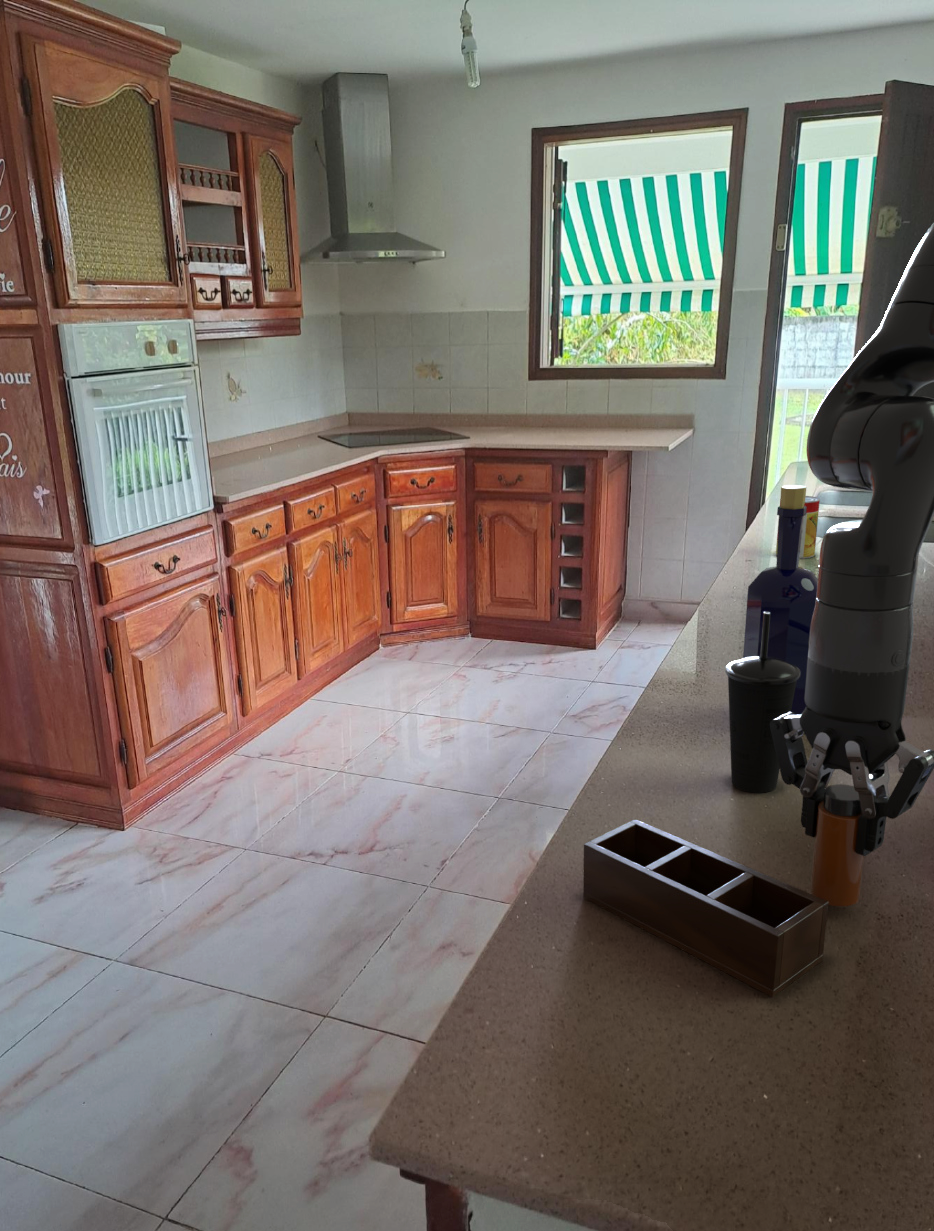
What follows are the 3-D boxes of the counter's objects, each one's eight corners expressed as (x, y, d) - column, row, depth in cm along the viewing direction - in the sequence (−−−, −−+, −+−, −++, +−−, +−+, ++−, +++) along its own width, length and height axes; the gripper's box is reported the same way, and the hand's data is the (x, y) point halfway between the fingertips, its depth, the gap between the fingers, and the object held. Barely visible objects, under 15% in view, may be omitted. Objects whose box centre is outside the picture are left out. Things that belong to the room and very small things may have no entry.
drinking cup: (761, 764, 116) (774, 599, 109) (804, 791, 110) (821, 616, 103) (704, 776, 114) (714, 608, 107) (745, 803, 108) (758, 626, 101)
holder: (633, 870, 96) (634, 818, 94) (822, 960, 81) (829, 901, 79) (582, 897, 92) (583, 844, 90) (772, 997, 77) (778, 936, 75)
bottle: (806, 708, 132) (827, 480, 122) (818, 734, 124) (842, 492, 113) (734, 706, 134) (749, 481, 124) (741, 732, 126) (757, 494, 115)
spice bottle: (825, 877, 90) (835, 777, 87) (868, 894, 87) (880, 792, 84) (801, 894, 88) (810, 792, 84) (844, 912, 85) (855, 807, 81)
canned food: (815, 551, 216) (820, 496, 212) (813, 559, 209) (818, 502, 205) (777, 550, 219) (781, 495, 215) (773, 557, 212) (778, 501, 208)
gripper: (972, 660, 77) (944, 856, 83) (803, 627, 87) (789, 802, 93) (925, 686, 72) (899, 890, 78) (753, 647, 83) (742, 829, 89)
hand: (839, 841), depth 86 cm, fingers closed on spice bottle, 4 cm apart
